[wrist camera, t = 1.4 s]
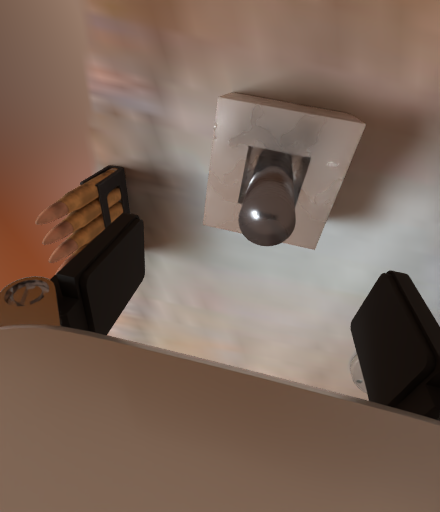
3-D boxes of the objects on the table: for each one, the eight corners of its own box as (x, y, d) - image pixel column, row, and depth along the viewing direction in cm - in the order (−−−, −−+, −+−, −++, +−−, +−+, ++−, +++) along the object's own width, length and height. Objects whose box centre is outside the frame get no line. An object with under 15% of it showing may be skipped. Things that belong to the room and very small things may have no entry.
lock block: (348, 113, 23) (366, 124, 18) (309, 219, 29) (314, 249, 24) (232, 92, 24) (217, 97, 19) (216, 199, 29) (202, 224, 24)
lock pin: (299, 158, 25) (308, 214, 15) (278, 187, 26) (274, 255, 17) (269, 139, 24) (257, 183, 14) (250, 170, 26) (228, 228, 16)
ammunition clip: (134, 250, 36) (76, 317, 26) (121, 247, 36) (58, 313, 26) (123, 167, 30) (43, 213, 20) (107, 165, 30) (20, 209, 20)
